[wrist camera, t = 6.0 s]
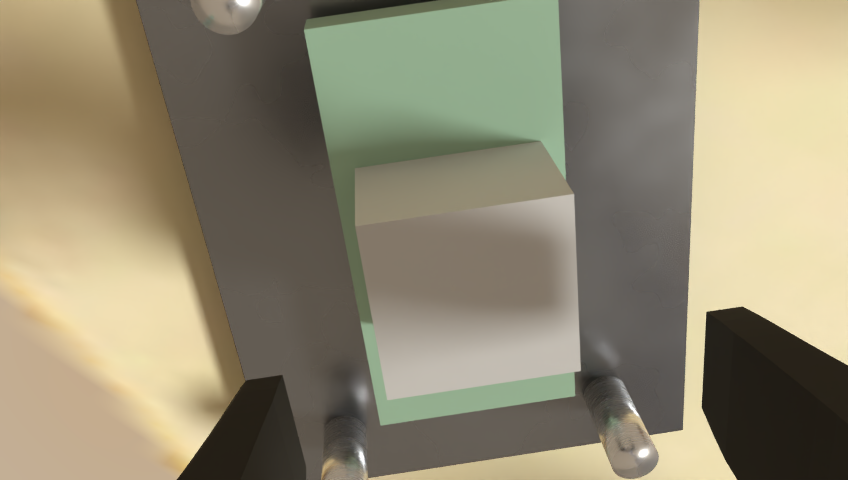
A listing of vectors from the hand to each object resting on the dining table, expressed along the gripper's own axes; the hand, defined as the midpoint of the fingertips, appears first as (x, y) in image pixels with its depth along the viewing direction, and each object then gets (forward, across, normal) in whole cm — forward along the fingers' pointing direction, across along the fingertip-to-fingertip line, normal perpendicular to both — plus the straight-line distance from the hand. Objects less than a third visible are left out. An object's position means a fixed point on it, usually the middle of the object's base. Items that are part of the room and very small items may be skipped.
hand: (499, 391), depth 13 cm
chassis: (+8, 0, 0) cm, 8 cm away
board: (+6, 0, 0) cm, 6 cm away
